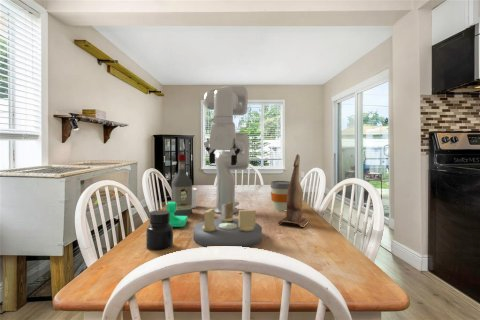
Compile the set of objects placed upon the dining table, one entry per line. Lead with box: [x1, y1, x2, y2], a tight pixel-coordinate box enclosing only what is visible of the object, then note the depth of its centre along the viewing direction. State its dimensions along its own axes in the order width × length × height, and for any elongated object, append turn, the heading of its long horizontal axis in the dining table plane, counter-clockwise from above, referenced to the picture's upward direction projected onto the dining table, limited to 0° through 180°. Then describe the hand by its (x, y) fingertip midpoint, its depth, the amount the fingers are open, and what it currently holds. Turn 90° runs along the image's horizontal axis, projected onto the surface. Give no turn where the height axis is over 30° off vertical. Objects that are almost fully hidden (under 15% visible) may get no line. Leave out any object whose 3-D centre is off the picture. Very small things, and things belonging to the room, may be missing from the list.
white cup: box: [192, 187, 198, 209], centre depth 166 cm, size 8×8×10 cm
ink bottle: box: [145, 209, 174, 251], centre depth 104 cm, size 10×9×12 cm
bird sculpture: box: [277, 154, 309, 227], centre depth 133 cm, size 11×12×32 cm
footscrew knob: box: [220, 202, 234, 223], centre depth 122 cm, size 6×5×7 cm
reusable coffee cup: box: [270, 180, 290, 212], centre depth 163 cm, size 13×12×15 cm
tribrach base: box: [193, 208, 263, 248], centre depth 114 cm, size 26×26×12 cm
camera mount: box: [166, 201, 188, 228], centre depth 130 cm, size 12×8×10 cm, turn 0°
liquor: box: [171, 153, 193, 216], centre depth 149 cm, size 9×9×30 cm
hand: (222, 164), depth 120 cm, fingers open, 9 cm apart
